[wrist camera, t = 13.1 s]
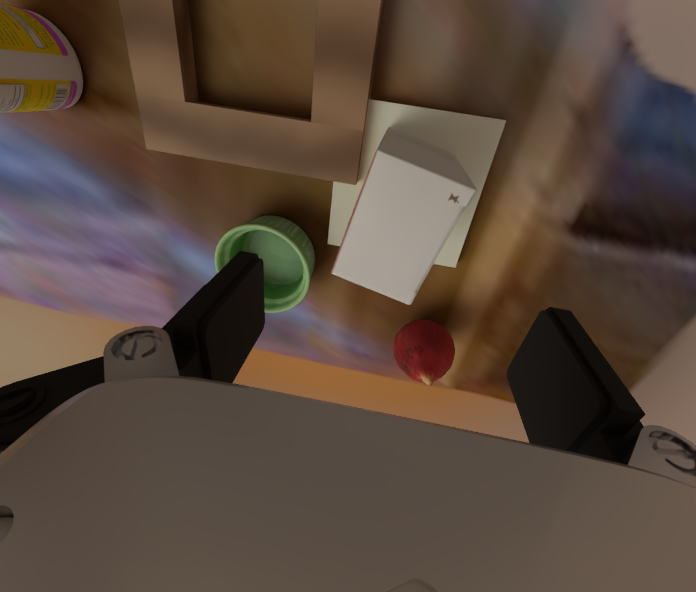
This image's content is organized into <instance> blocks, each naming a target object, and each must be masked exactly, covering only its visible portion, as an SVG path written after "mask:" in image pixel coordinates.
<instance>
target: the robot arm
mask: <svg viewBox="0 0 696 592" xmlns="http://www.w3.org/2000/svg"><path fill="white" fill-rule="evenodd" d="M264 323H265V306H264V264H263V259H260V258H259V257H258V254H256V253H251V252H245V251H239V252H238V253H237V254H236V255H235V256H234V257H233V258H232V259H231V260H230V261H229V262H228V263H227V264H226V265H225V266H224V267H223V268H222V269H221V270H220V271H219V272H218V273H217V274H216V275H215V276H214V277H213V278H212V279H211V280H210V281H209V282H208V283H207V284H206V285H204V286H203V287H202V288H201V289H200V290H199V291H198V292H197V293H196V294H195V295H194V296H193V297H192V298H191V299H190V300H189V301H188V302H187V303H186V304H185V305H184V306H183V307H182V308H181V309H180V310H179V311H178V312H177V313H176V315H175V316H174V317H173V318H172V319H171V320H170V321H169V322H168V323H167V324H166V325H165V326H164V327H163V328H158V327H155V326H141V327H134V328H132V329H128V330H125V331H123V332H121V333H119V334H117V335H116V336H114V337H113V338H112V339H110V340H109V342H108V343H107V344H106V346H105V348H104V356H102V357H99V358H96V359H92V360H89V361H85V362H82V363H79V364H75V365H72V366H68V367H65V368H62V369H58V370H55V371H51V372H48V373H45V374H41V375H38V376H34V377H31V378H28V379H24V380H21V381H17V382H14V383H12V384H9V385H6V386H3V387H1V388H0V592H696V445H694V444H693V443H692V442H690V441H689V440H687V439H686V438H684V437H683V436H681V435H680V434H678V433H676V432H674V431H672V430H670V429H667V428H663V427H661V426H655V425H648V426H645V427H644V426H643V425H642V423H641V422H640V421H639V420H640V419H641V418H642V417H643V416H644V415H645V413H644V412H643V410H642V409H641V407H639V405H638V403H637V402H636V401H635V399H634V398H633V397H632V395H631V394H630V392H629V391H628V390H627V388H626V387H625V385H624V384H623V383H622V381H621V380H620V378H619V377H618V376H617V374H616V373H615V372H614V370H613V369H612V367H611V366H610V365H609V363H608V362H607V360H606V359H605V358H604V356H603V355H602V354H601V352H600V351H599V349H598V348H597V347H596V345H595V344H594V343H593V341H592V340H591V338H590V337H589V336H588V334H587V333H586V331H585V330H584V329H583V327H582V326H581V325H580V323H579V322H578V320H577V319H576V318H575V316H574V315H573V314H572V312H571V311H569V310H564V309H558V308H553V307H550V308H548V309H546V310H543V311H541V312H540V313H539V314H538V316H537V318H536V320H535V321H534V323H533V325H532V327H531V328H530V330H529V332H528V334H527V335H526V337H525V339H524V341H523V343H522V344H521V346H520V348H519V350H518V351H517V353H516V355H515V357H514V358H513V360H512V362H511V364H510V365H509V367H508V370H507V378H508V382H509V384H510V387H511V390H512V393H513V396H514V399H515V402H516V405H517V408H518V410H519V413H520V416H521V419H522V422H523V425H524V428H525V430H526V434H527V436H528V439H529V442H530V443H526V442H522V441H516V440H511V439H507V438H503V437H498V436H493V435H488V434H483V433H479V432H474V431H469V430H464V429H459V428H455V427H450V426H445V425H440V424H435V423H430V422H425V421H420V420H416V419H410V418H406V417H401V416H396V415H391V414H386V413H381V412H376V411H371V410H366V409H362V408H357V407H351V406H346V405H341V404H336V403H331V402H326V401H321V400H316V399H311V398H306V397H301V396H295V395H291V394H286V393H281V392H276V391H270V390H265V389H260V388H255V387H249V386H245V385H239V384H233V381H234V379H235V377H236V376H237V374H238V372H239V370H240V368H241V367H242V365H243V363H244V362H245V360H246V358H247V356H248V355H249V353H250V351H251V349H252V348H253V346H254V344H255V343H256V341H257V339H258V337H259V336H260V334H261V332H262V330H263V328H264Z"/></svg>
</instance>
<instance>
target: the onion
mask: <svg viewBox="0 0 696 592" xmlns="http://www.w3.org/2000/svg"><path fill="white" fill-rule="evenodd" d="M393 353H394V357H395V360H396V362H397V364H398V366H399V367H400V369H401V370H402V371H404V372H405V373H406V374H407V375H408V376H409V377H410V378H411V379H413V380H416V381H419V382H424V383H425V384H427V385H432V383H433V381H435V380H437V379H439V378H441V377H443V376H444V375H445V373H446V372H447V371H448V370H449V369H450V368H451V366H452V363H453V359H454V355H455V347H454V343H453V339H452V337H451V335H450V334H449V333H448V331H447V330H446V329H445V328H444V327H443V326H441V325H439V324H437V323H435V322H434V321H431V320H425V319H421V320H414V321H412V322H410V323H408V324H406V325H405V326H404V327H403V328H402V329H401V330H400V331H399V332H398V333H397V334H396V337H395V341H394V348H393Z"/></svg>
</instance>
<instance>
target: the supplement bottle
mask: <svg viewBox="0 0 696 592" xmlns="http://www.w3.org/2000/svg"><path fill="white" fill-rule="evenodd" d="M82 90H83V75H82V70H81V66H80V63H79V60H78V58H77V55H76V53H75V51H74V49H73V48H72V46H71V44H70V43H69V41H68V40H67V38H66V37H65V36H64V35H63V34H62V32H61V31H60V30H59V29H58V28H57V27H56V26H55V25H54V24H52V23H51V22H50V21H49V20H47V19H46V18H44V17H43V16H41V15H39V14H37V13H35V12H32V11H29V10H26V9H21V8H17V7H12V6H7V5H2V4H0V113H9V112H25V111H42V110H57V109H64V108H68V107H71V106H72V105H74V104H75V103H76V102H77V101H78V100H79V98H80V96H81V94H82Z"/></svg>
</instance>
